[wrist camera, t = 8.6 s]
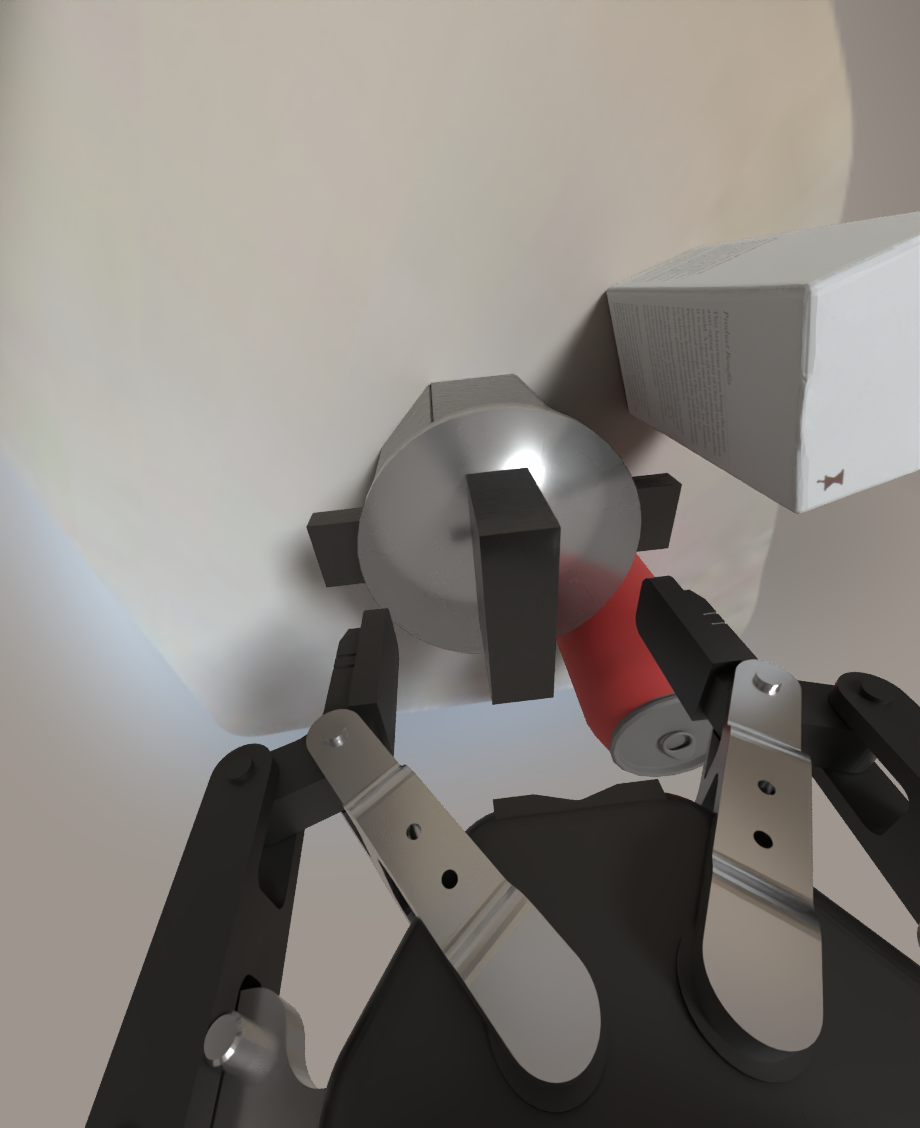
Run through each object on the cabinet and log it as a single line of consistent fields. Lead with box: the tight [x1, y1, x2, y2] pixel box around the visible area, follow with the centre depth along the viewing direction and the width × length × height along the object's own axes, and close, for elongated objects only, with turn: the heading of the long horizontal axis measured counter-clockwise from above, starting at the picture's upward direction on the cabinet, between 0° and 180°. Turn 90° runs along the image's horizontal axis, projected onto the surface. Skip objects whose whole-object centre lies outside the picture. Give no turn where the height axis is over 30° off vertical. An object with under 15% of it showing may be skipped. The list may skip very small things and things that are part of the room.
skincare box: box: [607, 211, 920, 514], centre depth 15 cm, size 6×4×12 cm
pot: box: [307, 374, 682, 587], centre depth 20 cm, size 10×15×7 cm, turn 95°
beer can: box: [556, 554, 712, 777], centre depth 23 cm, size 7×7×12 cm
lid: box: [358, 403, 641, 705], centre depth 15 cm, size 11×11×5 cm
